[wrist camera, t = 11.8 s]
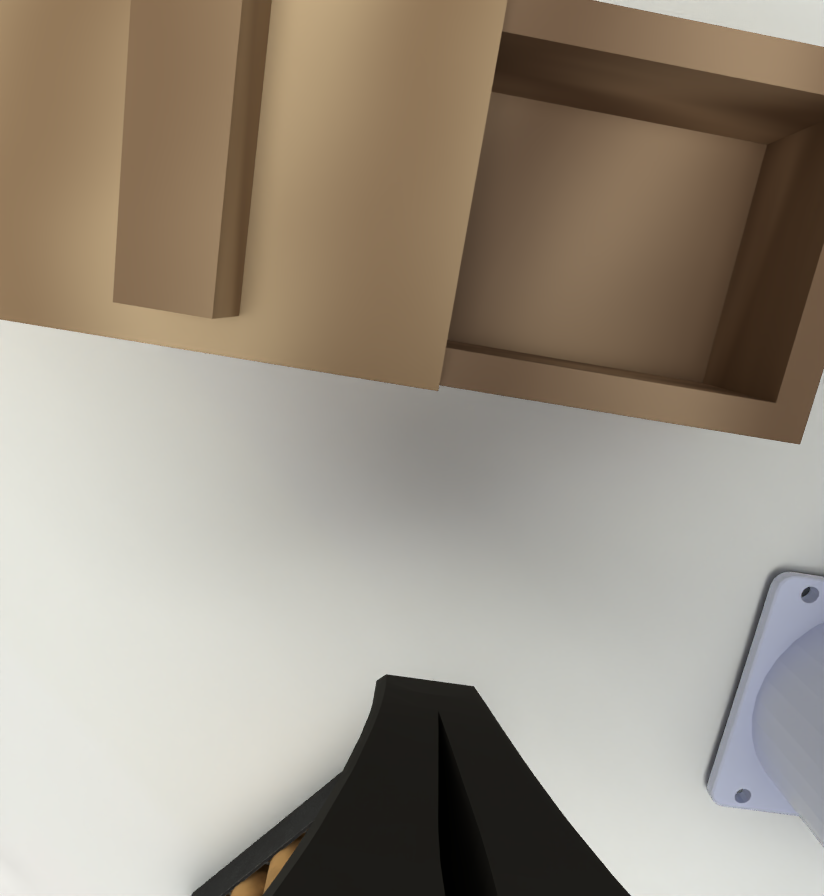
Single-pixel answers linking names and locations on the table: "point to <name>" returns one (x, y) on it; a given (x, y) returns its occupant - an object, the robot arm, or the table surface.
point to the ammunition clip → (266, 853)
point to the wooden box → (647, 222)
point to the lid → (245, 174)
